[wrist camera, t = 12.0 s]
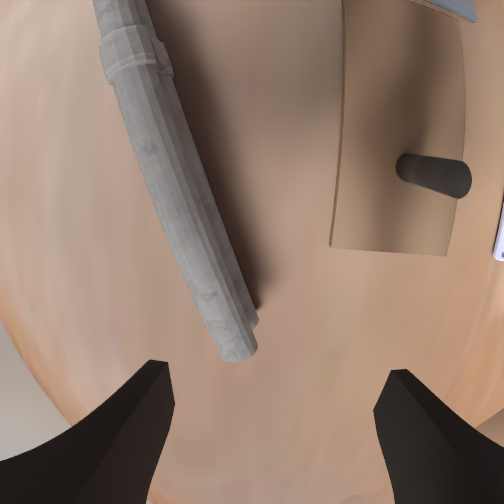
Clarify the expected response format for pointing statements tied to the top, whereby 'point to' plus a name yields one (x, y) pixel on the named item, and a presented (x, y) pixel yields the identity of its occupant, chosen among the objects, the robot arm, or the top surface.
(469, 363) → the top surface
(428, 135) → the post stand
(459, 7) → the rubber mat
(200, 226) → the metal rod assembly
